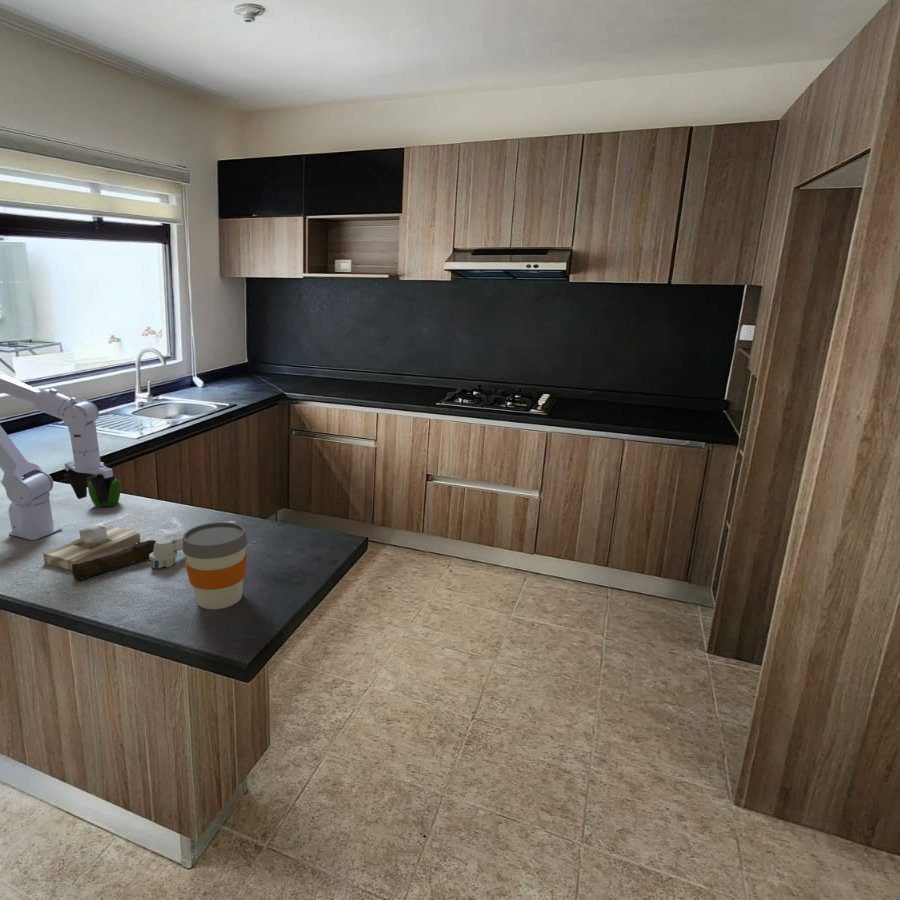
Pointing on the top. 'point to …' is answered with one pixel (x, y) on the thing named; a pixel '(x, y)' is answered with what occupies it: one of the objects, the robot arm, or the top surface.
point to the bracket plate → (78, 554)
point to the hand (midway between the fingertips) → (92, 500)
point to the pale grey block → (93, 536)
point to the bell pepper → (113, 494)
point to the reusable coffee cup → (216, 563)
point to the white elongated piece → (168, 551)
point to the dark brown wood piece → (114, 560)
